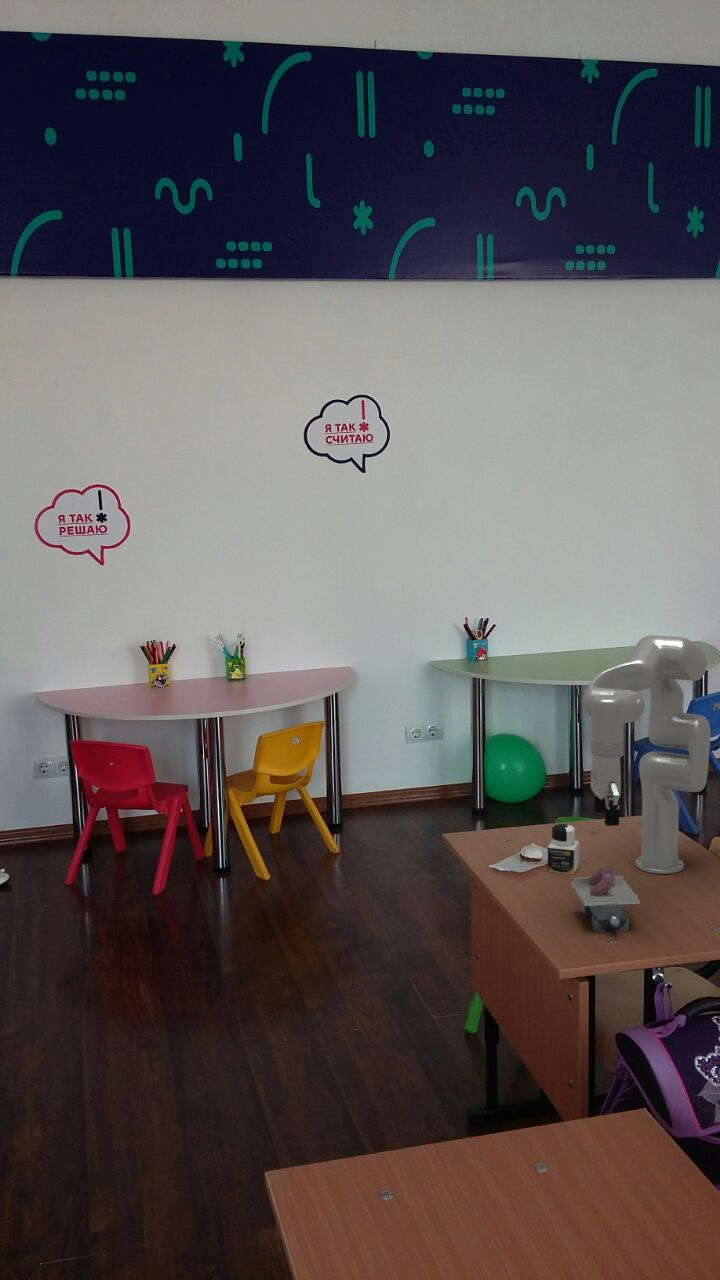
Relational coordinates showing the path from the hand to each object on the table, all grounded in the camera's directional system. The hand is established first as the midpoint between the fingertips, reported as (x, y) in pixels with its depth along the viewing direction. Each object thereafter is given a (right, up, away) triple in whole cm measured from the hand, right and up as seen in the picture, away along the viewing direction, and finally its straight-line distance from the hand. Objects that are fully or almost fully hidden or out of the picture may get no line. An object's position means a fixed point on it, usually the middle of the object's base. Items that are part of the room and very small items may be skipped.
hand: (606, 818), depth 262 cm
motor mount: (0, -25, +2) cm, 25 cm away
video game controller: (0, -18, +3) cm, 18 cm away
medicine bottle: (-3, -20, +38) cm, 43 cm away
